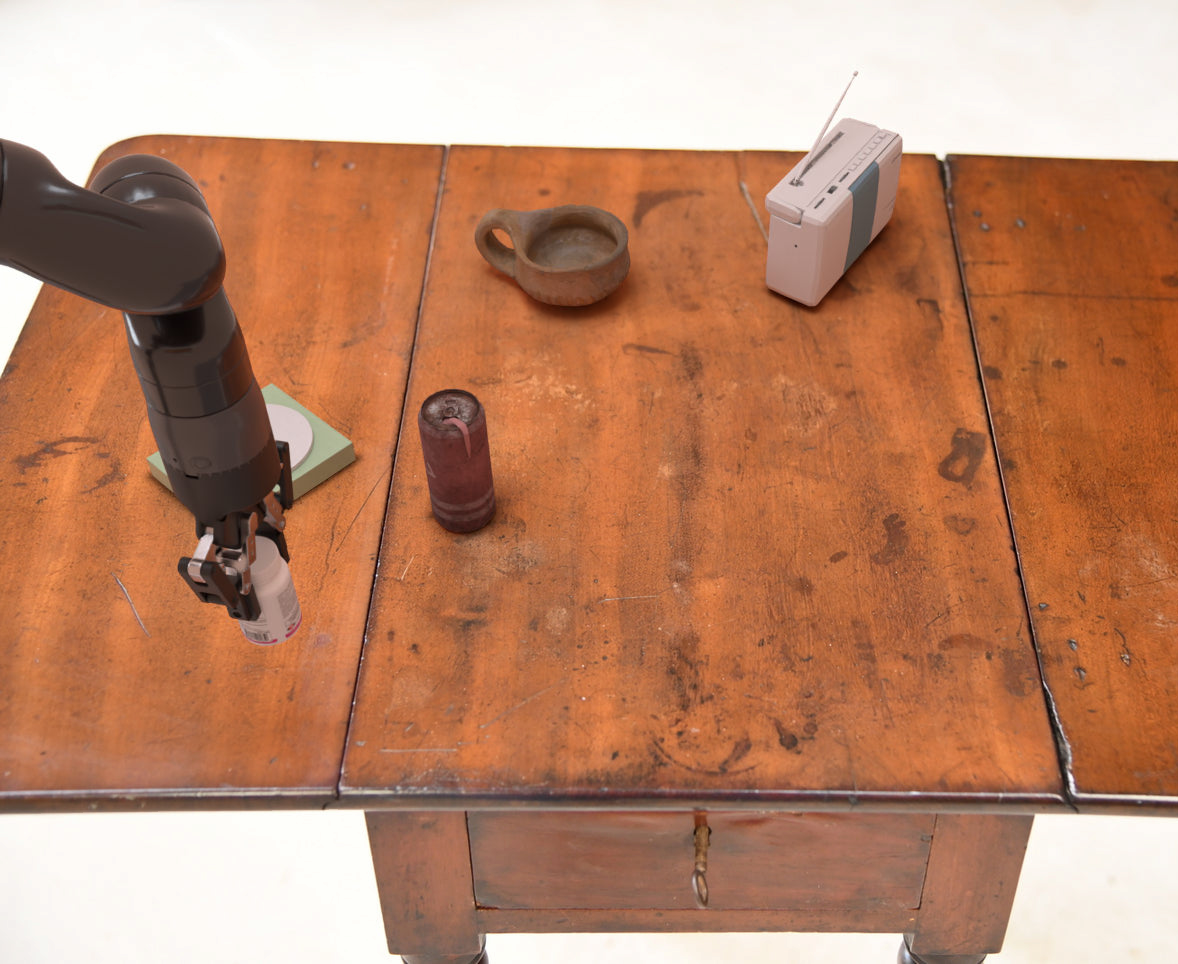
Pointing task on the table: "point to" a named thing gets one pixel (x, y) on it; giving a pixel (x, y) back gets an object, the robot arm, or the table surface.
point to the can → (457, 459)
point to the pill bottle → (271, 597)
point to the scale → (294, 443)
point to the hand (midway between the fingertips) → (261, 589)
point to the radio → (831, 207)
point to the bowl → (558, 251)
